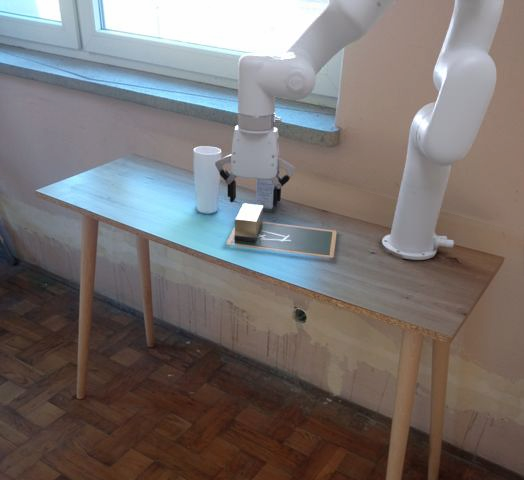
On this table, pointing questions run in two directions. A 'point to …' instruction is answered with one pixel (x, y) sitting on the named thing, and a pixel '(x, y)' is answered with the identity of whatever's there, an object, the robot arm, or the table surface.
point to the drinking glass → (206, 178)
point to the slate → (292, 239)
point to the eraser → (248, 223)
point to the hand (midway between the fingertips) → (254, 202)
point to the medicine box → (265, 192)
